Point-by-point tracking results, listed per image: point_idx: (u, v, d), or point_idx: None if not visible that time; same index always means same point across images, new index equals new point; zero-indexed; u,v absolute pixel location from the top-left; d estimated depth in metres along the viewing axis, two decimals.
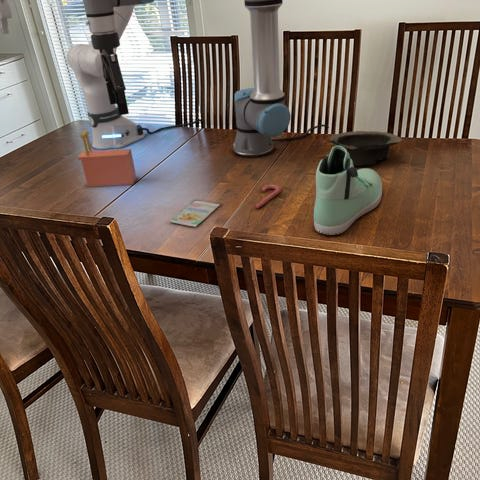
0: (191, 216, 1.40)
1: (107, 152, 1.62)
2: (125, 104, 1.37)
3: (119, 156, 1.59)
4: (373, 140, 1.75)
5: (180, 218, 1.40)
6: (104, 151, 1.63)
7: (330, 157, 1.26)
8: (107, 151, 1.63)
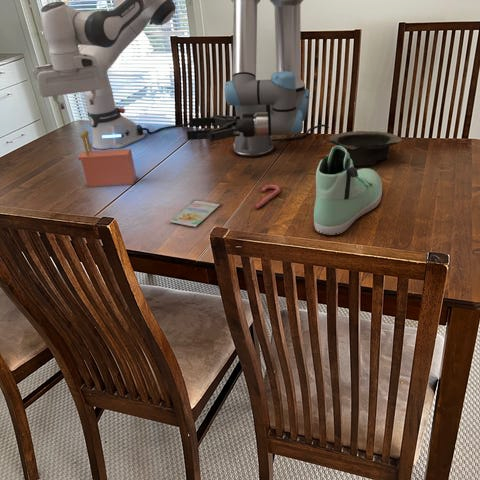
0: (191, 216, 1.40)
1: (107, 152, 1.62)
2: None
3: (119, 156, 1.59)
4: (373, 140, 1.75)
5: (180, 218, 1.40)
6: (104, 151, 1.63)
7: (330, 157, 1.26)
8: (107, 151, 1.63)
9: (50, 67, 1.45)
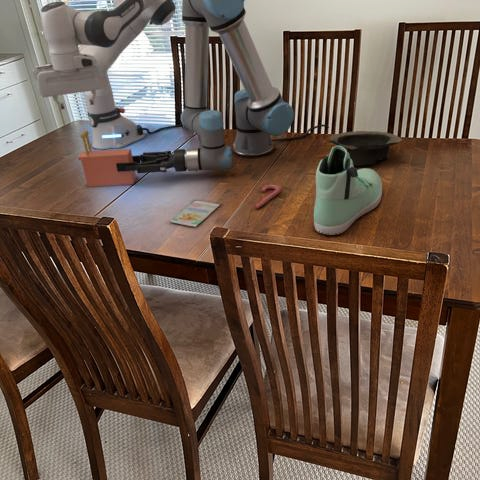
0: (191, 216, 1.40)
1: (107, 152, 1.62)
2: None
3: (119, 156, 1.59)
4: (373, 140, 1.75)
5: (180, 218, 1.40)
6: (104, 151, 1.63)
7: (330, 157, 1.26)
8: (107, 151, 1.63)
9: (50, 67, 1.45)
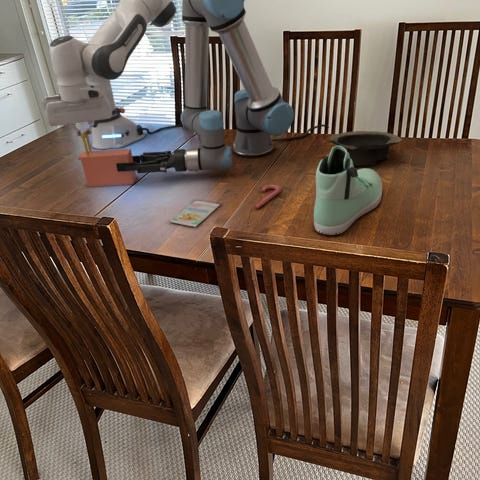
0: (191, 216, 1.40)
1: (107, 152, 1.62)
2: None
3: (119, 156, 1.59)
4: (373, 140, 1.75)
5: (180, 218, 1.40)
6: (104, 151, 1.63)
7: (330, 157, 1.26)
8: (107, 151, 1.63)
9: (58, 98, 1.51)
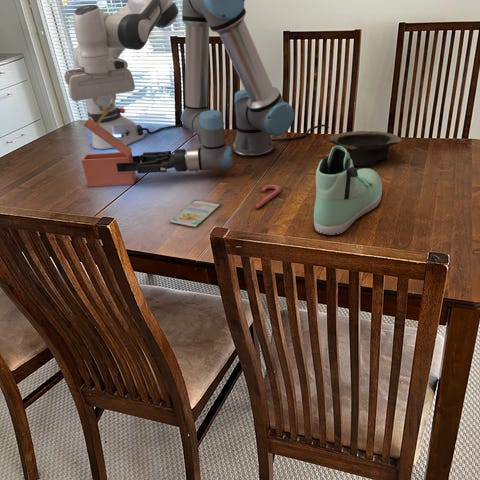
0: (191, 216, 1.40)
1: (111, 138, 1.59)
2: None
3: (121, 151, 1.58)
4: (373, 140, 1.75)
5: (180, 218, 1.40)
6: (109, 134, 1.59)
7: (330, 157, 1.26)
8: (111, 136, 1.60)
9: (82, 70, 1.45)
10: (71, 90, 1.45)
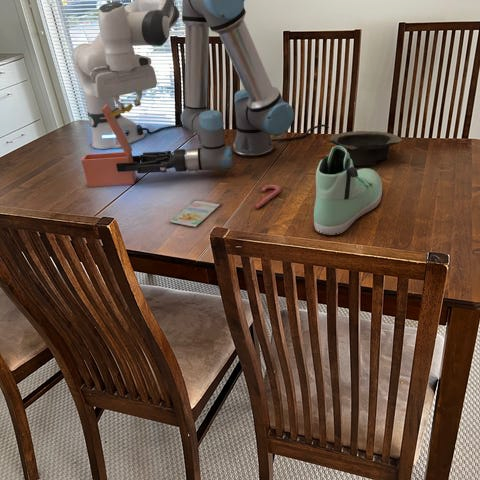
0: (191, 216, 1.40)
1: (120, 132, 1.58)
2: None
3: (123, 148, 1.58)
4: (373, 140, 1.75)
5: (180, 218, 1.40)
6: (119, 127, 1.58)
7: (330, 157, 1.26)
8: (120, 130, 1.59)
9: (107, 68, 1.44)
10: (98, 88, 1.43)
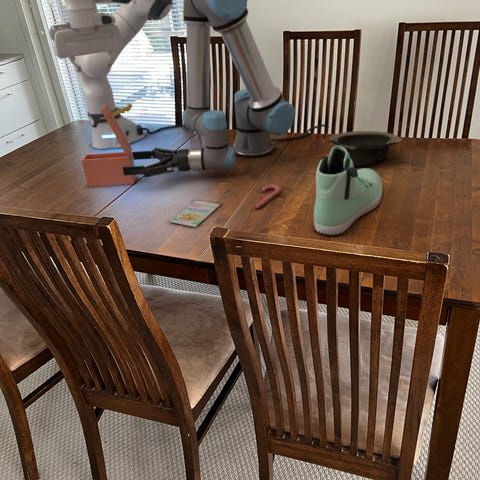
0: (191, 216, 1.40)
1: (119, 132, 1.58)
2: None
3: (123, 148, 1.58)
4: (373, 140, 1.75)
5: (180, 218, 1.40)
6: (118, 127, 1.58)
7: (330, 157, 1.26)
8: (120, 130, 1.59)
9: (67, 26, 1.38)
10: (57, 46, 1.38)
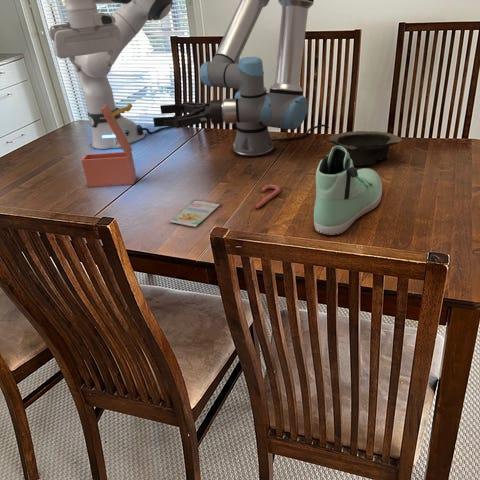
0: (191, 216, 1.40)
1: (119, 132, 1.58)
2: None
3: (123, 148, 1.58)
4: (373, 140, 1.75)
5: (180, 218, 1.40)
6: (118, 127, 1.58)
7: (330, 157, 1.26)
8: (120, 130, 1.59)
9: (67, 26, 1.38)
10: (57, 46, 1.38)
